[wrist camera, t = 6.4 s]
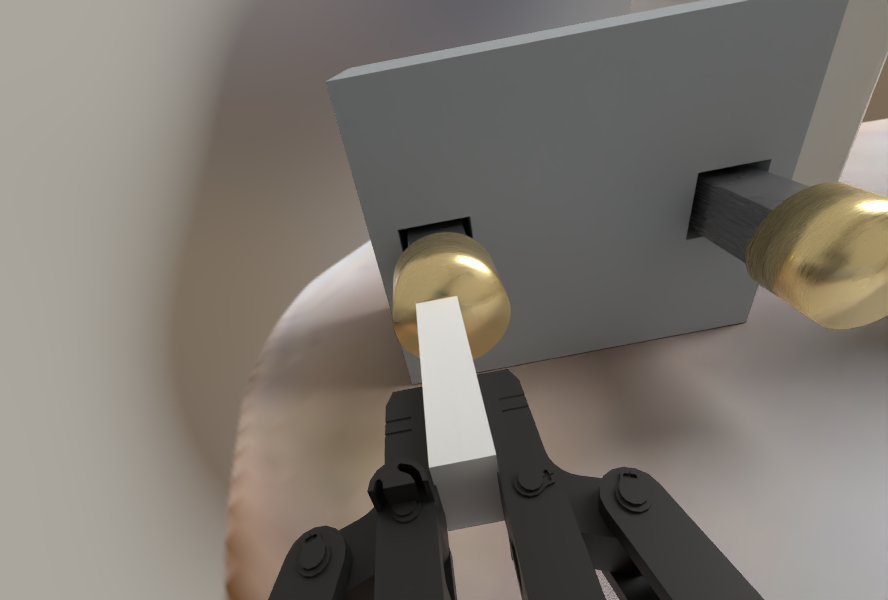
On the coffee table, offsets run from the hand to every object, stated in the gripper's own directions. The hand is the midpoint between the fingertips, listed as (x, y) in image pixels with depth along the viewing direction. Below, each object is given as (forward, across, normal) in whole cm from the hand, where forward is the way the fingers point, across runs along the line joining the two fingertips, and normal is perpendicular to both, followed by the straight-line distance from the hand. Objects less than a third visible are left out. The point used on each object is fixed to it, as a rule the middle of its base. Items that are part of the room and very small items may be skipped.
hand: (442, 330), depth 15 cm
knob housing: (+10, +8, -8) cm, 14 cm away
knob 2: (+3, +14, -2) cm, 15 cm away
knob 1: (+5, 0, -2) cm, 5 cm away
